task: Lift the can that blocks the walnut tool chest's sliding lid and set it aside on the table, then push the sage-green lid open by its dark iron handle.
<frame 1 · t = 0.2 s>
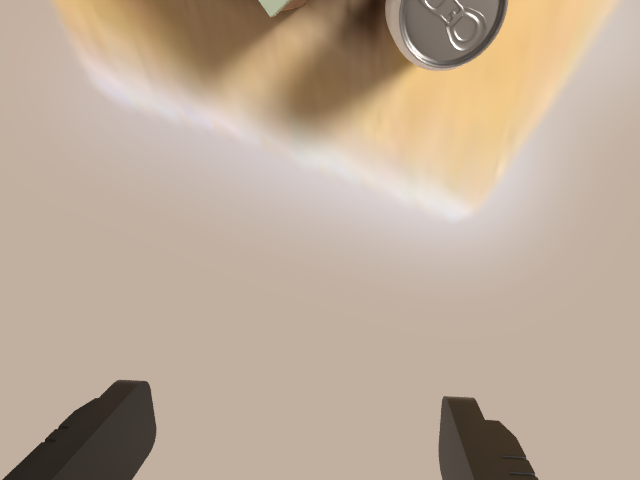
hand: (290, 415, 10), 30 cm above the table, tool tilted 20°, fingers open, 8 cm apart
can: (425, 5, 30), on the table
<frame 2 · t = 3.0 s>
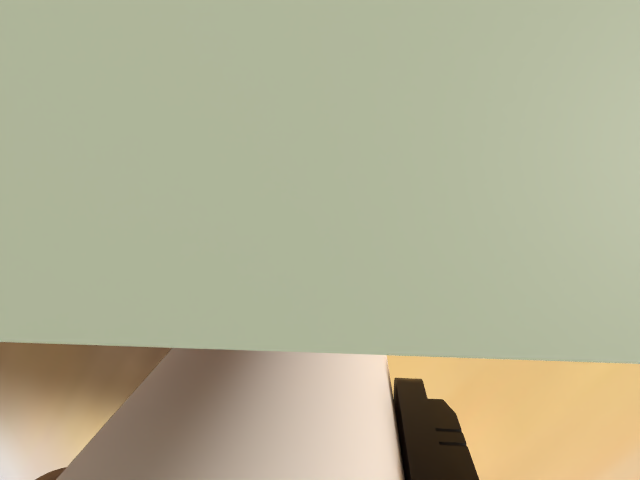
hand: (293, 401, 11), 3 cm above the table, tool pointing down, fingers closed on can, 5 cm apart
can: (295, 340, 14), on the table, touching gripper
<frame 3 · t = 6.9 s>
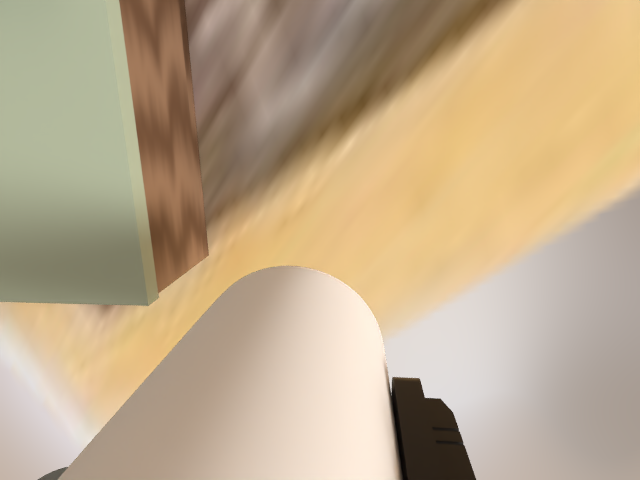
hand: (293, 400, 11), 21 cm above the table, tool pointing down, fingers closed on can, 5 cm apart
can: (295, 342, 14), point 18 cm above the table, touching gripper
chest: (114, 136, 31), on the table
when the fingers open (4 cm above the table, at t = 10.4 s): can drops 1 cm, on the table.
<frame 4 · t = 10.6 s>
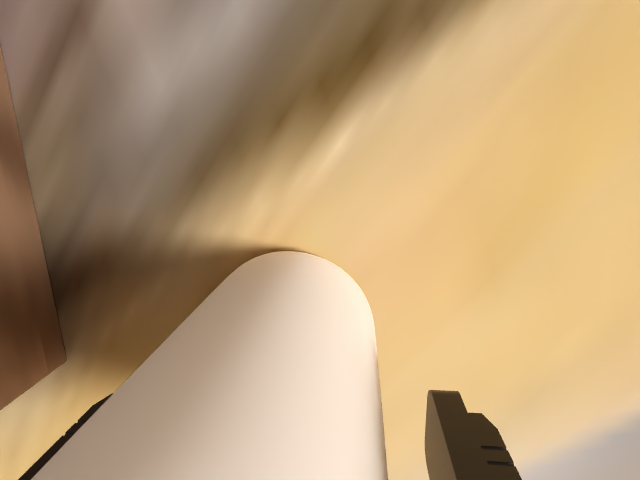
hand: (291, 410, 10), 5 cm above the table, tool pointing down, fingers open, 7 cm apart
can: (294, 322, 15), on the table
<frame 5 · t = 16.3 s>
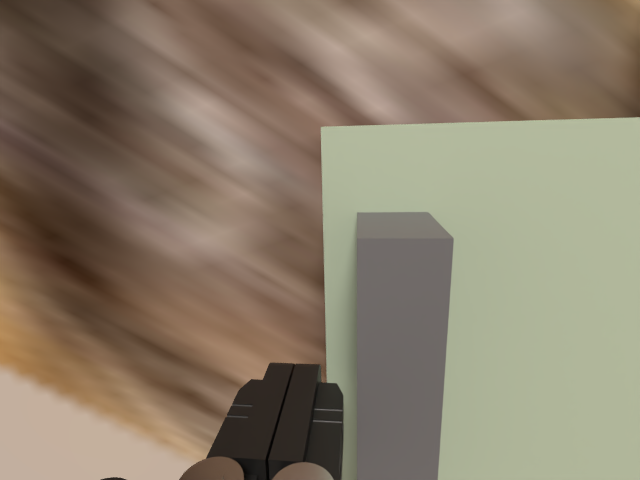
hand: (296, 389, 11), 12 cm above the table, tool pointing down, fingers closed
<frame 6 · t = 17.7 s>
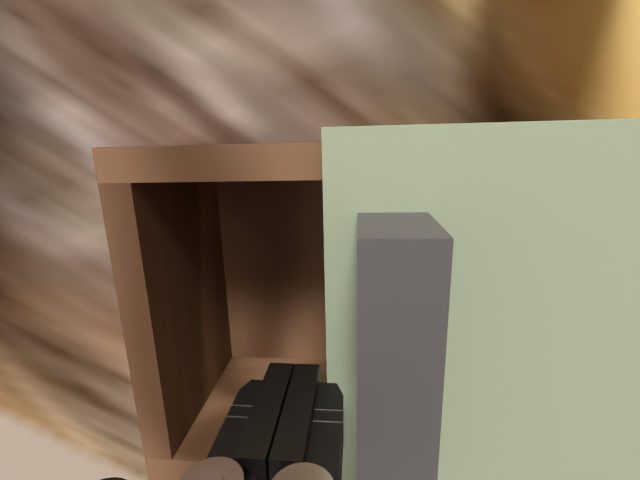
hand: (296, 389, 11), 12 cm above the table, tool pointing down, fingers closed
chest: (375, 264, 22), on the table
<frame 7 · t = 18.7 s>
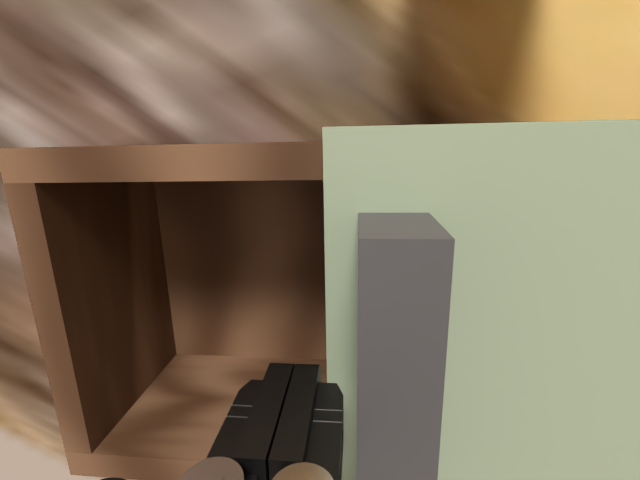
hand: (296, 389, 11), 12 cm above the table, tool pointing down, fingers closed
chest: (314, 263, 22), on the table
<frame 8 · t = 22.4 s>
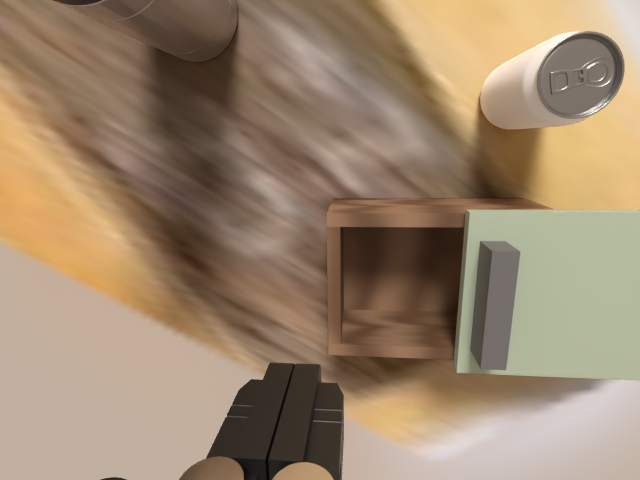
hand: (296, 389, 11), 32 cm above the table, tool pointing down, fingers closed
can: (511, 96, 38), on the table
lid: (593, 304, 31), point 11 cm above the table, slide at 11.8 cm
chest: (422, 260, 43), on the table
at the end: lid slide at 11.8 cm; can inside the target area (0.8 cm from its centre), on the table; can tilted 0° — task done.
